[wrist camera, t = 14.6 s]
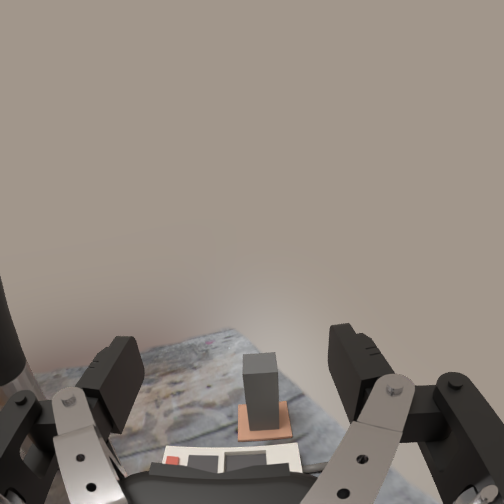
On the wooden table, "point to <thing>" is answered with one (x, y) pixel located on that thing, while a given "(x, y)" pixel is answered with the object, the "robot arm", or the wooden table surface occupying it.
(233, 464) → the power strip
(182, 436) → the wooden table surface
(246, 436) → the tile coaster
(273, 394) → the block
